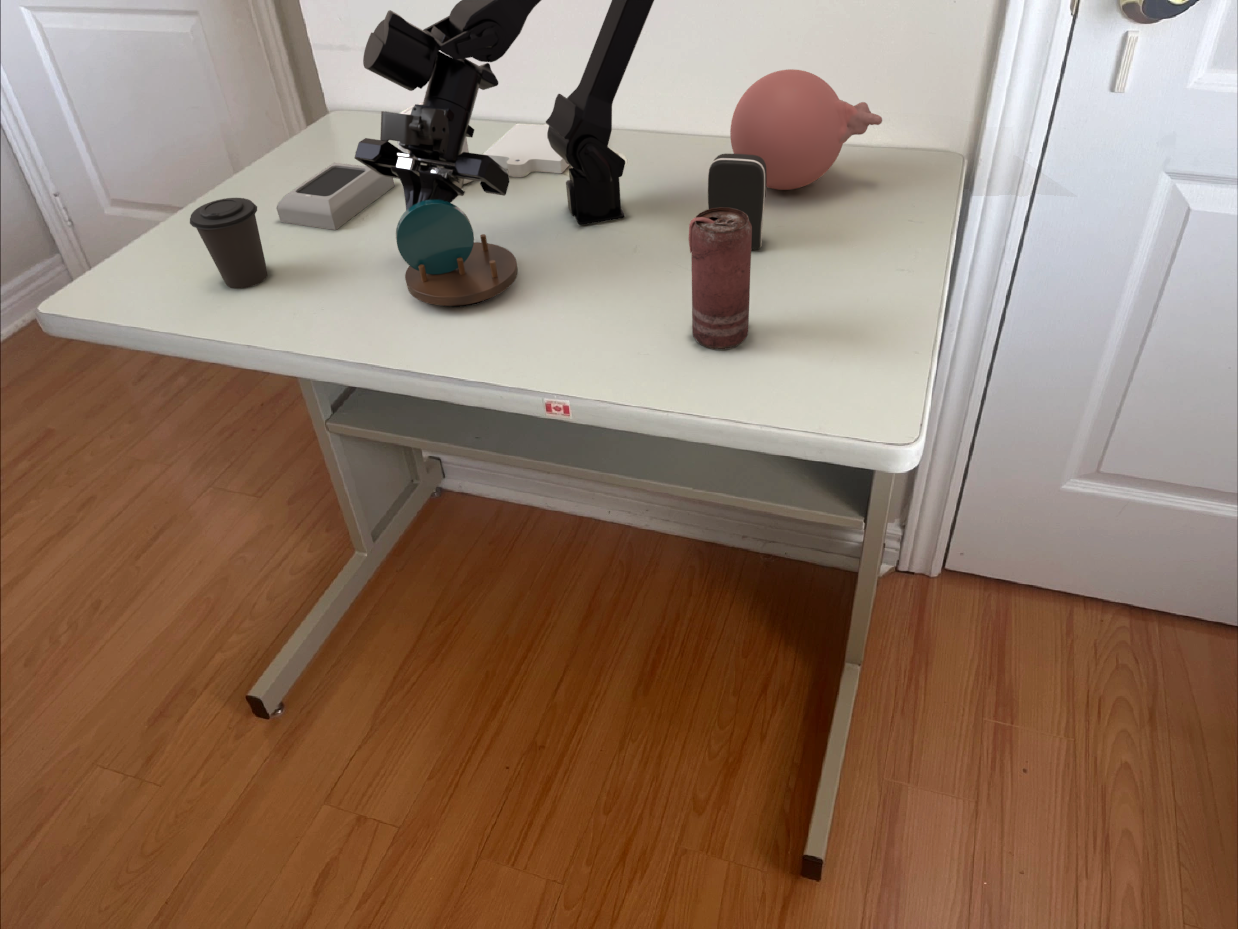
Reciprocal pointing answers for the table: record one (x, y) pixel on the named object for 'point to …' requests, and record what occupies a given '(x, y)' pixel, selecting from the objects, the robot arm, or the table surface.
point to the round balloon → (795, 126)
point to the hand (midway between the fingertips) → (412, 236)
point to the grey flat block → (333, 196)
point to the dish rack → (450, 257)
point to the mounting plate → (526, 151)
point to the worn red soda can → (720, 277)
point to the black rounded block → (739, 188)
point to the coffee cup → (232, 240)
